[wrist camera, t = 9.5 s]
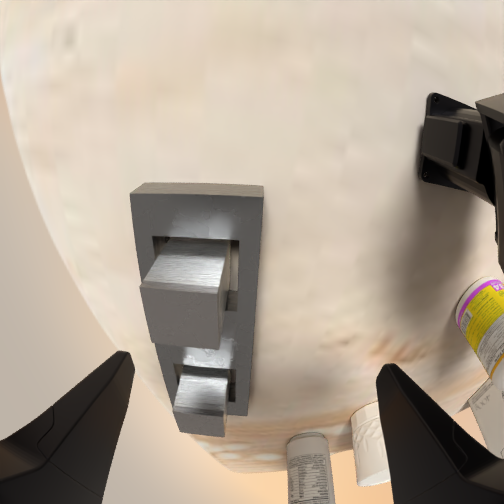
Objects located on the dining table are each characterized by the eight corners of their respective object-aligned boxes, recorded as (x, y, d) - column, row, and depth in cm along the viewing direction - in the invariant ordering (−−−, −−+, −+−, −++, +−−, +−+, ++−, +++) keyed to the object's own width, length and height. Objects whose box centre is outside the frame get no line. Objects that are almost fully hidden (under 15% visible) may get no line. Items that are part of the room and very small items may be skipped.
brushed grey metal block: (230, 353, 26) (223, 417, 19) (230, 378, 27) (224, 437, 21) (187, 349, 26) (172, 411, 19) (192, 374, 27) (180, 431, 21)
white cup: (361, 398, 29) (377, 469, 20) (411, 394, 30) (432, 456, 21) (337, 427, 33) (346, 489, 24) (384, 424, 33) (398, 480, 24)
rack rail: (263, 185, 18) (263, 197, 16) (248, 397, 29) (247, 416, 27) (144, 182, 18) (129, 193, 16) (177, 390, 29) (172, 408, 27)
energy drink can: (287, 448, 36) (290, 533, 23) (284, 433, 34) (287, 530, 20) (326, 443, 36) (335, 527, 22) (328, 428, 33) (339, 524, 20)
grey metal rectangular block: (230, 233, 20) (217, 293, 14) (229, 281, 22) (218, 349, 16) (174, 230, 20) (139, 286, 14) (178, 278, 22) (151, 342, 16)
